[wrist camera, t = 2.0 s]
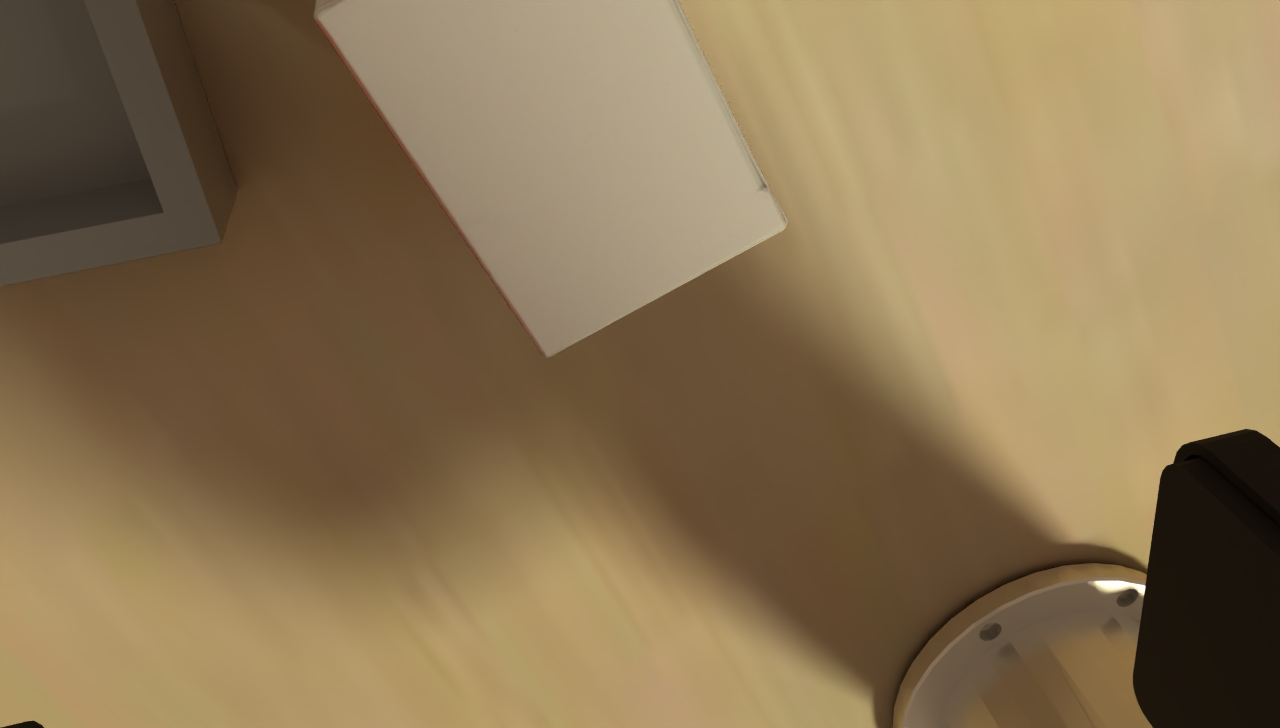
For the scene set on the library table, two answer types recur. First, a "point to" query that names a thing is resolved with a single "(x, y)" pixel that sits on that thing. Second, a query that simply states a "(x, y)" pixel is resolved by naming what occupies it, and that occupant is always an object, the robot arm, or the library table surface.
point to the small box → (563, 145)
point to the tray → (103, 138)
